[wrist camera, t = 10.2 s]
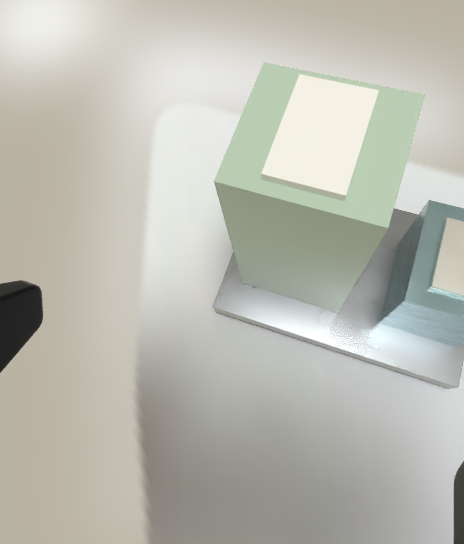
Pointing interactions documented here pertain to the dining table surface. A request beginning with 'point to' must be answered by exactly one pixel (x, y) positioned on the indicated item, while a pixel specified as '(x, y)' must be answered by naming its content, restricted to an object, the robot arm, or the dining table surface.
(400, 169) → the block
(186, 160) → the dining table surface
